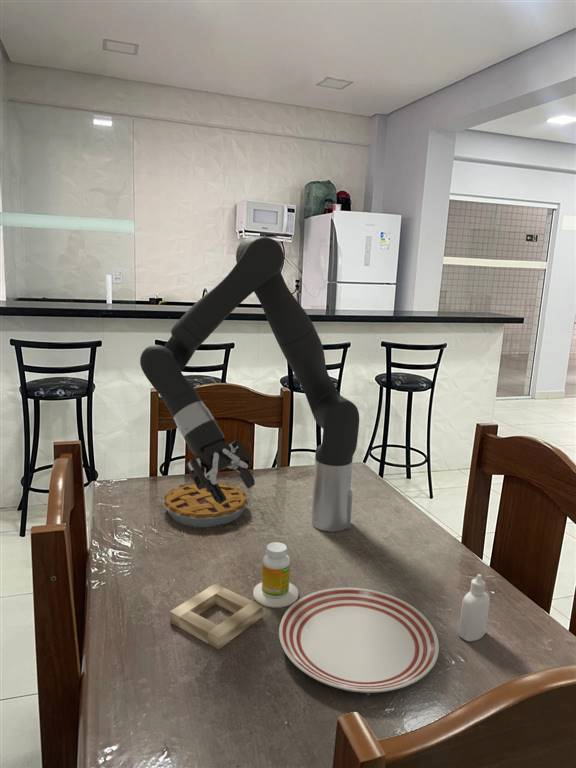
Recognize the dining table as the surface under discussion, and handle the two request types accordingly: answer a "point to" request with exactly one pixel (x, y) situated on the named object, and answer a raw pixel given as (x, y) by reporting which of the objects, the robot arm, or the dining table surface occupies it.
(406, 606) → the dinner plate
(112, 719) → the dining table surface
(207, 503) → the pie
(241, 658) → the dining table surface
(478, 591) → the eye dropper bottle
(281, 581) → the supplement bottle
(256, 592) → the pale ceramic coaster
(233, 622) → the birch pocket block
